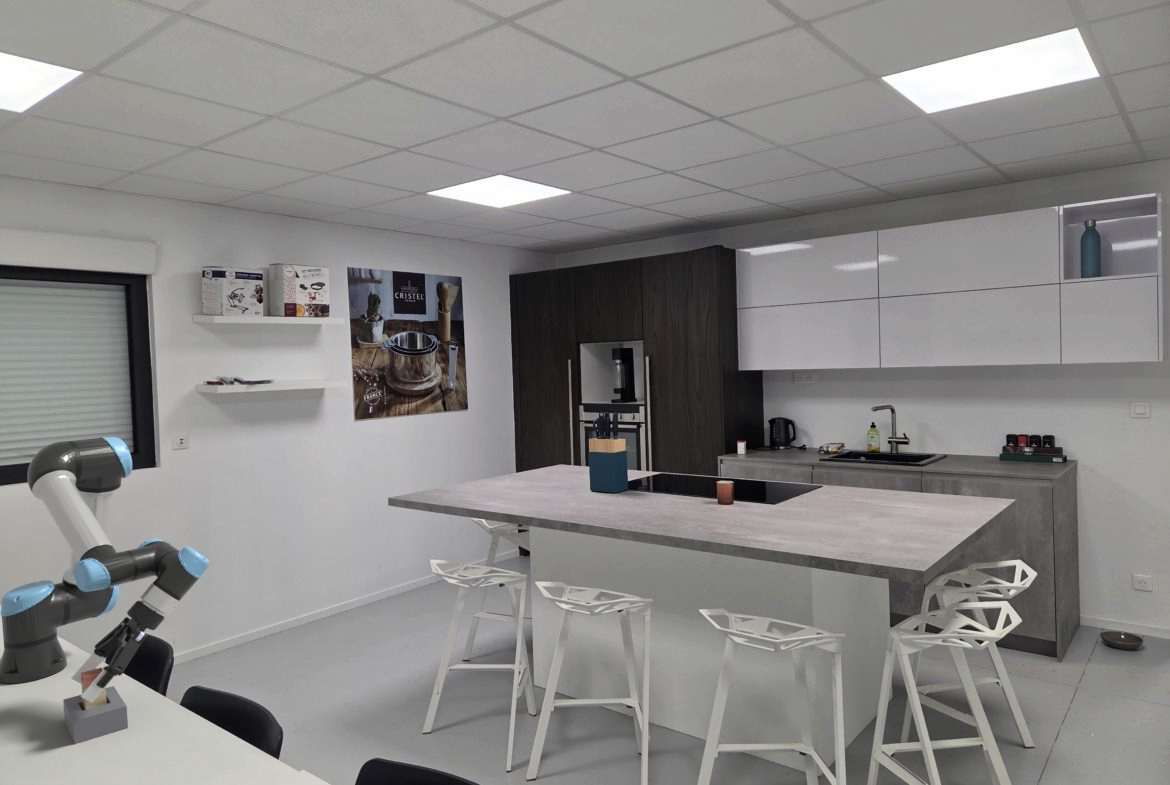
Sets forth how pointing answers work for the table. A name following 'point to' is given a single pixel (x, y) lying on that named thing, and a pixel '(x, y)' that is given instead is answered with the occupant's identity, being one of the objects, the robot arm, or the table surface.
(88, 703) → the plug peg
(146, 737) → the table surface
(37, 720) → the table surface
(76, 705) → the socket block
